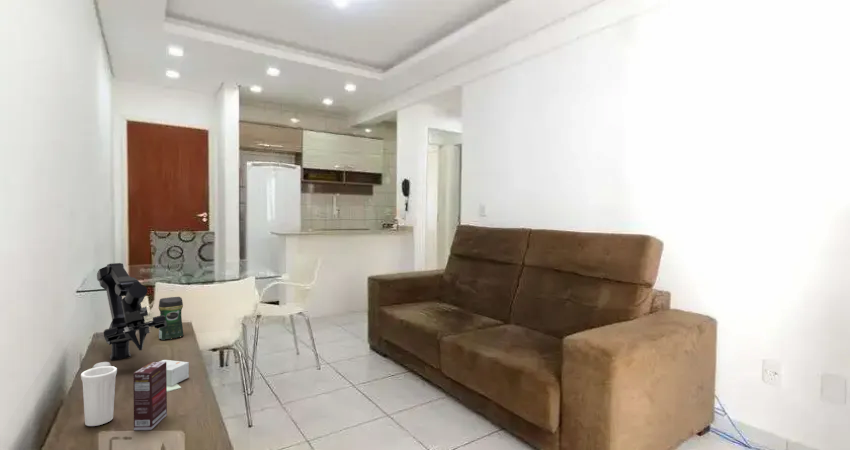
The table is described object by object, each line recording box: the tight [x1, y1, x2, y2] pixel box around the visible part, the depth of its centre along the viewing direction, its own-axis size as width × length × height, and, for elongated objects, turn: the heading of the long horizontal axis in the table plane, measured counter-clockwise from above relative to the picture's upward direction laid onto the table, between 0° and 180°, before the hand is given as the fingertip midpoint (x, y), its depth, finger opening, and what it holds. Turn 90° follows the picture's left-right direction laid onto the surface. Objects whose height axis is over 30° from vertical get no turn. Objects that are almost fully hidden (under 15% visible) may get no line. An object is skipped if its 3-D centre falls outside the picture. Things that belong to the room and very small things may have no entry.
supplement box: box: [132, 361, 168, 431], centre depth 118 cm, size 9×5×16 cm, turn 5°
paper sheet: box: [167, 383, 182, 393], centre depth 141 cm, size 11×10×1 cm
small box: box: [158, 359, 190, 386], centre depth 147 cm, size 8×6×10 cm
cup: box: [80, 365, 118, 427], centre depth 118 cm, size 8×8×14 cm
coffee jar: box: [158, 296, 184, 341], centre depth 194 cm, size 10×8×19 cm
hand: (140, 349), depth 152 cm, fingers closed
